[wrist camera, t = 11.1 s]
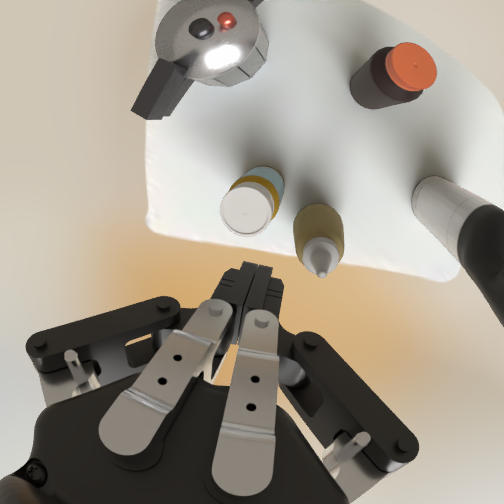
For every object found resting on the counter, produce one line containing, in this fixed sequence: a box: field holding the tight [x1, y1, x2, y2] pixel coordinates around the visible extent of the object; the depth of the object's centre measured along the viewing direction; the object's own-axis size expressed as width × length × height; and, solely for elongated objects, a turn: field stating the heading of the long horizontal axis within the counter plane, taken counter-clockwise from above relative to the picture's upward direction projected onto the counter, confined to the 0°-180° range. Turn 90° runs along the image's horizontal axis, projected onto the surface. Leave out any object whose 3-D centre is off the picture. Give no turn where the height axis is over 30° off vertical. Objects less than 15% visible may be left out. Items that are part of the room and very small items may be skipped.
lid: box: [131, 0, 260, 120], centre depth 27 cm, size 21×15×5 cm
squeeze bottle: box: [293, 204, 344, 278], centre depth 38 cm, size 8×8×18 cm
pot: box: [164, 0, 269, 116], centre depth 32 cm, size 24×14×9 cm, turn 142°
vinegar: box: [350, 42, 437, 109], centre depth 26 cm, size 7×7×20 cm
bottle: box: [220, 166, 285, 237], centre depth 38 cm, size 7×7×15 cm
